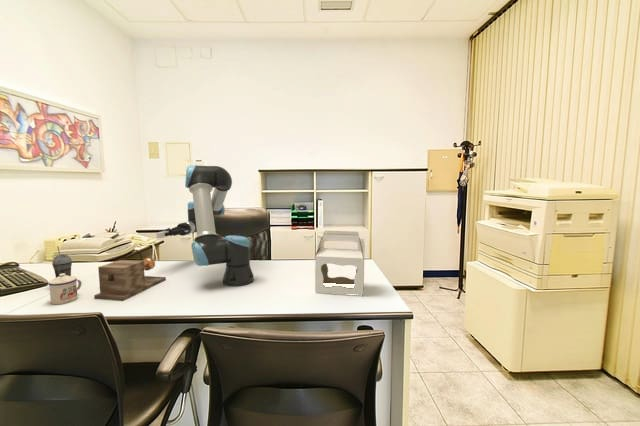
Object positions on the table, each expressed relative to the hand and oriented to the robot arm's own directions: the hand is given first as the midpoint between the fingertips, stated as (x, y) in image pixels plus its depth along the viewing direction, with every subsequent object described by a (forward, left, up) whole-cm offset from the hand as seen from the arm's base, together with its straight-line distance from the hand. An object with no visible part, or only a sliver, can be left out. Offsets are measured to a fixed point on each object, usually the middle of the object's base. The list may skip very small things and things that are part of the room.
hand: (158, 235), depth 155 cm
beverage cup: (+9, +40, -22) cm, 47 cm away
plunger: (-13, +13, -16) cm, 24 cm away
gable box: (-71, -66, -22) cm, 99 cm away
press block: (-13, +13, -22) cm, 29 cm away
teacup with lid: (-12, +37, -22) cm, 45 cm away
